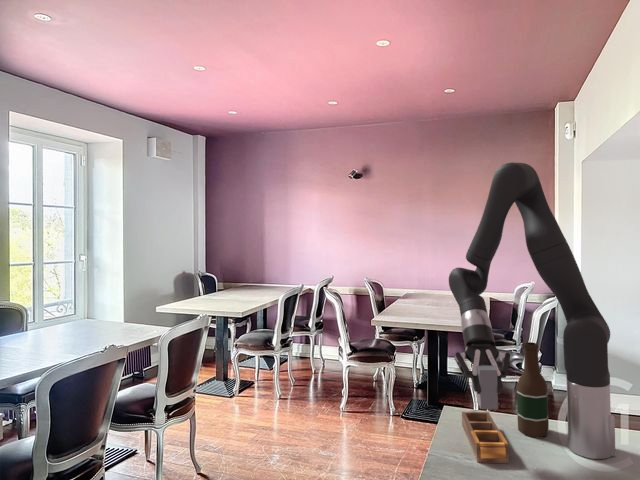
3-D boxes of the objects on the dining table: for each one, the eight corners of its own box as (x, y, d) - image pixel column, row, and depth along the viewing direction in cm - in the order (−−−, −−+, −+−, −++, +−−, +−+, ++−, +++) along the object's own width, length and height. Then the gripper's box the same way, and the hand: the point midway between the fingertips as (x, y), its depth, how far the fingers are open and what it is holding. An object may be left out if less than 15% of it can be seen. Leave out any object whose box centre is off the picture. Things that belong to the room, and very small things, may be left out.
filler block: (493, 402, 115) (493, 365, 114) (498, 409, 111) (497, 370, 110) (477, 402, 115) (476, 364, 115) (480, 409, 111) (479, 370, 111)
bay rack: (488, 426, 129) (488, 410, 129) (509, 464, 109) (508, 445, 108) (462, 425, 130) (461, 409, 130) (477, 463, 109) (477, 444, 109)
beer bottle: (553, 439, 120) (550, 347, 119) (521, 437, 122) (518, 347, 121) (544, 426, 128) (542, 340, 127) (514, 424, 129) (512, 339, 128)
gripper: (450, 323, 120) (460, 385, 109) (507, 322, 119) (523, 386, 107) (448, 338, 126) (457, 399, 114) (502, 338, 124) (517, 399, 113)
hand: (489, 392), depth 111 cm, fingers closed on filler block, 4 cm apart
